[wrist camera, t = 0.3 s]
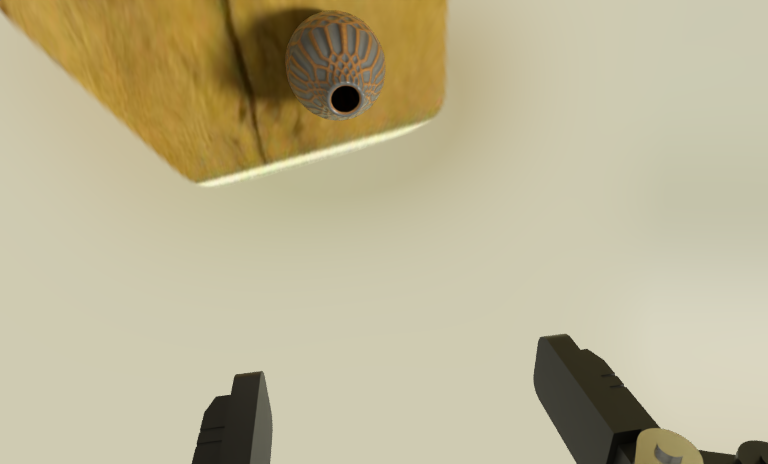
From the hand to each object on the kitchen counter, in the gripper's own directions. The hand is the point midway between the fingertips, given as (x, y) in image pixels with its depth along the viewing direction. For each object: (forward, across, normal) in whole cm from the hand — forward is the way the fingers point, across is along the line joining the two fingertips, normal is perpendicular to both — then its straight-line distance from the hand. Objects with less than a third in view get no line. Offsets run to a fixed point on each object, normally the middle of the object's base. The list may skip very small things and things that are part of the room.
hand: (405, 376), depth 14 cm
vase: (+29, 0, -7) cm, 29 cm away
